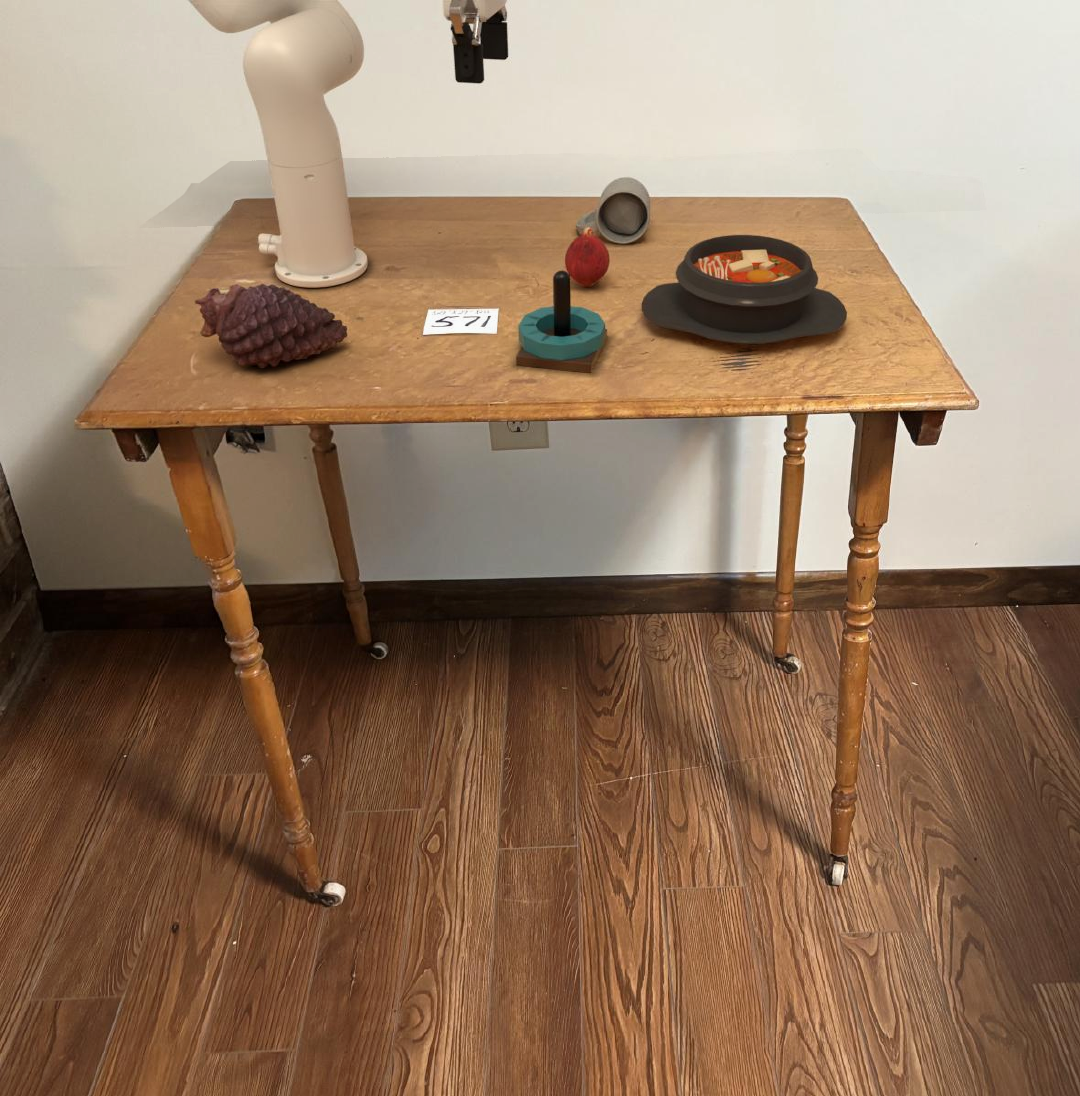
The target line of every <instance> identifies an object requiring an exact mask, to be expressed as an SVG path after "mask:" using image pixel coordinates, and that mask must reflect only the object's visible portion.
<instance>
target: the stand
mask: <svg viewBox="0 0 1080 1096" xmlns="http://www.w3.org/2000/svg"><path fill="white" fill-rule="evenodd" d="M571 282H572V281H571V277H570V275H569V274H568V272H567V270H558V271H556V272H555V273H554V274H553V276H552V293H553V294H552V296H553V297H552V298H553V299H552V300H553V305H552V306H553V308H554V329H548V330H546V331H544V332H542V333H544V334H546V335H549V336H559V337H565V336H572V335H577V334H579V333H581V331H579V330H576V329H572V328H571V306H572V304H571V303H572V302H571V301H572V300H571V299H572V298H571V290H572V289H571V287H572V286H571ZM607 338H608V329H607V328H605V340H604V342H603V344H602V346H601V348H600V349H599V350H597V351H595V352H593V353H591V354H589V355H587V356H586V357H582V358H575V359H568V360H555V359H545V358H540V357H537V356H535V355H533V354H531V353H529V352H527V351H525V350H524V349H523V347H522V346H521V347H520V349H519V350H518V352H517V354H516V356H515V360H516V366H518V367H519V366H521V367H528V368H529V367H531V368H539V369H548V370H559V371H566V372H577V373H585V374H586V373H587V374H592V372H593V370H594V367H595V365H596V363H597V361H598V359H599V356H600V354H601V352H602V349H603V348H604V345H605V343H606V340H607Z"/></svg>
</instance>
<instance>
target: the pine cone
mask: <svg viewBox="0 0 1080 1096" xmlns="http://www.w3.org/2000/svg"><path fill="white" fill-rule="evenodd" d="M194 305H199V306H200V308H199V312H200V314H201V317H202V318H203V320H204V323H203V326H202V328H201V329H200V331H199V332H200V333H199V334H200V335H201V336H202V337H204V338H210V337H213V336H214V335H217V336H218V342H219V343H221V344H220V346H221V347H222V349H223V350H224V351H225V353H226V354H227V355H231V358H232V359H233V360H234V361H237V363H238V364H239V365H240V366H249V365H250V366H255V365H257V367H258V368H260V369H264V368H266V367H267V366H268V365H270V366H272V367H276V366H278V364H279V363H280V361H283V362H285V363H288V362H291V361H292V360H297V361H299V360H305V359H307V358H308V357H311V356H312V355H320V354H321V353H322V351H327V350H329V348H330V347H335V346H337V345H338V344H339V343H342V342H344V340H345V339H346V338H348V327H347V325H343V321H342V320H341V319H335V318H336V315H335V314H334V312H330V311H329V310H328V309H327V308H326V307H324V308H322V307H319V306H317V304H316V303H314V302H310V300H308V299H305V298H302V296H301V295H300V294H298V293H294V292H293V291H291V290H290V289H287V288H285V287H284V286H282V287H278V286H277V285H276V284H269V285H267V284H265V283H260V284H259V285H255V286H249V287H248V288H246V287H244V286H241V285H239V284H238V283H237V284H236V283H235V284H233V285H230V286H229V290H228V292H227V293H221V291H220V289H219V288H216V287H215V288H211V289H209V290H208V293H207V294H206V296H204V297H202V298H199V299H196V300H194Z"/></svg>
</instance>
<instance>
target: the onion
mask: <svg viewBox="0 0 1080 1096" xmlns="http://www.w3.org/2000/svg"><path fill="white" fill-rule="evenodd" d="M592 232H593V230H592V229H591V228H589V227H588V228H585V229H584V231H583V233H582V235H580V236H578V237H576V238H574V240H573V241H571V243H570V244H569V246H568V247H567V249H566V252H565V256H564V266H565V270H566V272H567V273H568V274H569V275H570V279H571V280H573V281H574V282H576V283H577V284H579V285H580V286H582V287H584V288H590V287H592V286H593V285H594V284H596V283H597V282H599V281H600V280H601V279H602V278H604V276H605V275H606V273H608V270H609V266H610V260H611V259H610V253H609V250H608V248H607V246H606V245H605V243H604V241H603V240H602V239H600V237H598V236H597V235H595V234H594V233H592Z"/></svg>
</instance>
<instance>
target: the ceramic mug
mask: <svg viewBox="0 0 1080 1096" xmlns="http://www.w3.org/2000/svg"><path fill="white" fill-rule="evenodd" d="M650 221H651V197H650V194H649V191H648V189H647V188H646V186H645V185H644V184H643V183H642V182H640V181H639V180H638V179H636V178H633V177H629V176H624V177H618V178H615V179H614V180H612V181H611V182H609V183H608V184H607V185H606V186H605V188H604V189H603V191H602V193H601V195H600V197H599V201H598V205H597V207H596V208H595V209H593V210H591V211H589V212H587V213H585V214H584V215H582V216H581V217H580V218H579V219H578V220H577V221H576V223H575V228H576V229H577V231H578V233H579V235H580V236H581V235H582V233H583V231H584V229H585V228H588V227H589V228H591V229H592V230H593V232H592V233H593V234H595V233H600V235H602V236H603V238H605V239H606V240H608V241H609V242H612V243H615V244H618V245H626V244H631V243H634V242H636V241H638V240H639V239H641V237H643V235H644V234H645V233H646V232H647V230H648V228H649V226H650Z"/></svg>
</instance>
